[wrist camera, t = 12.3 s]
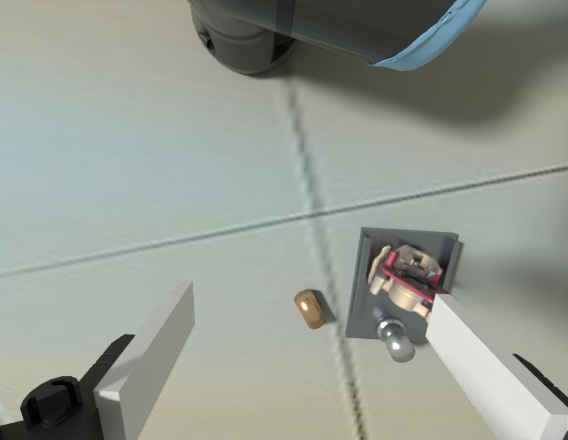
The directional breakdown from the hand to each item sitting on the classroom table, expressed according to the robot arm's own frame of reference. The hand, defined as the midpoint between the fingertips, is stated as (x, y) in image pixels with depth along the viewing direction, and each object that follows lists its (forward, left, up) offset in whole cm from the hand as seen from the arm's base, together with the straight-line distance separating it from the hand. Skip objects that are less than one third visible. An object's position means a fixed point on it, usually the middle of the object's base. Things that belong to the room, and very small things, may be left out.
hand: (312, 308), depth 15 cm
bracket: (+16, +20, -32) cm, 41 cm away
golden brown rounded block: (+21, +4, -32) cm, 38 cm away
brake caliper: (+12, +20, -31) cm, 38 cm away
